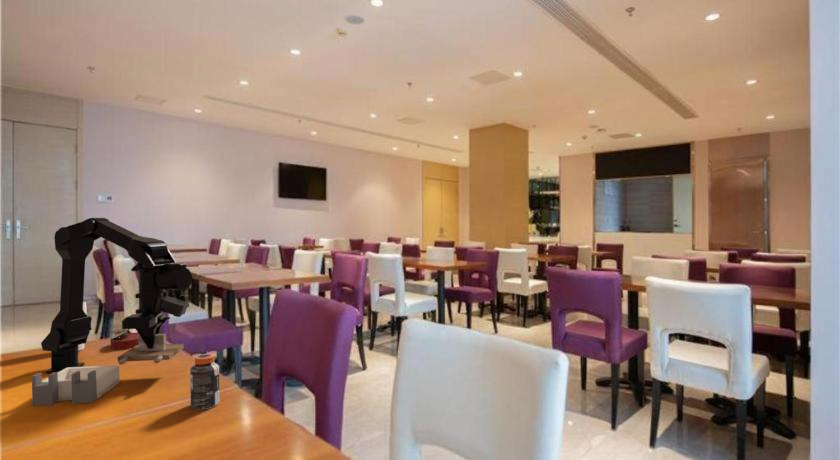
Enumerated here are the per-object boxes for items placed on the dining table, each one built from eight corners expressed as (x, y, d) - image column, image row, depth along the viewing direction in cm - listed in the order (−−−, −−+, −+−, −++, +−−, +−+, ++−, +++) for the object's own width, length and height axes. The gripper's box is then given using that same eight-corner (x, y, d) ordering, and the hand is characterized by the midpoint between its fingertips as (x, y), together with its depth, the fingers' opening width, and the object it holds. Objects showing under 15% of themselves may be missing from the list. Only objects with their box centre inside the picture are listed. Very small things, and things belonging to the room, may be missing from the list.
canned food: (127, 363, 141) (112, 340, 136) (110, 355, 146) (95, 332, 141) (159, 340, 149) (146, 317, 144) (143, 333, 154) (130, 311, 149)
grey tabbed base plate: (137, 349, 119) (136, 330, 119) (184, 347, 121) (184, 329, 121) (112, 365, 107) (112, 344, 107) (165, 362, 109) (164, 342, 109)
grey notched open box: (67, 385, 111) (67, 358, 110) (119, 382, 113) (119, 356, 112) (32, 406, 99) (31, 376, 98) (91, 402, 100) (90, 373, 100)
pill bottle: (225, 401, 102) (225, 353, 101) (205, 412, 96) (204, 361, 96) (205, 397, 104) (204, 350, 103) (184, 408, 98) (183, 358, 98)
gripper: (170, 294, 107) (170, 357, 107) (196, 282, 125) (197, 336, 126) (120, 295, 105) (121, 359, 106) (154, 283, 124) (155, 338, 124)
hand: (152, 347), depth 115 cm, fingers closed on grey tabbed base plate
